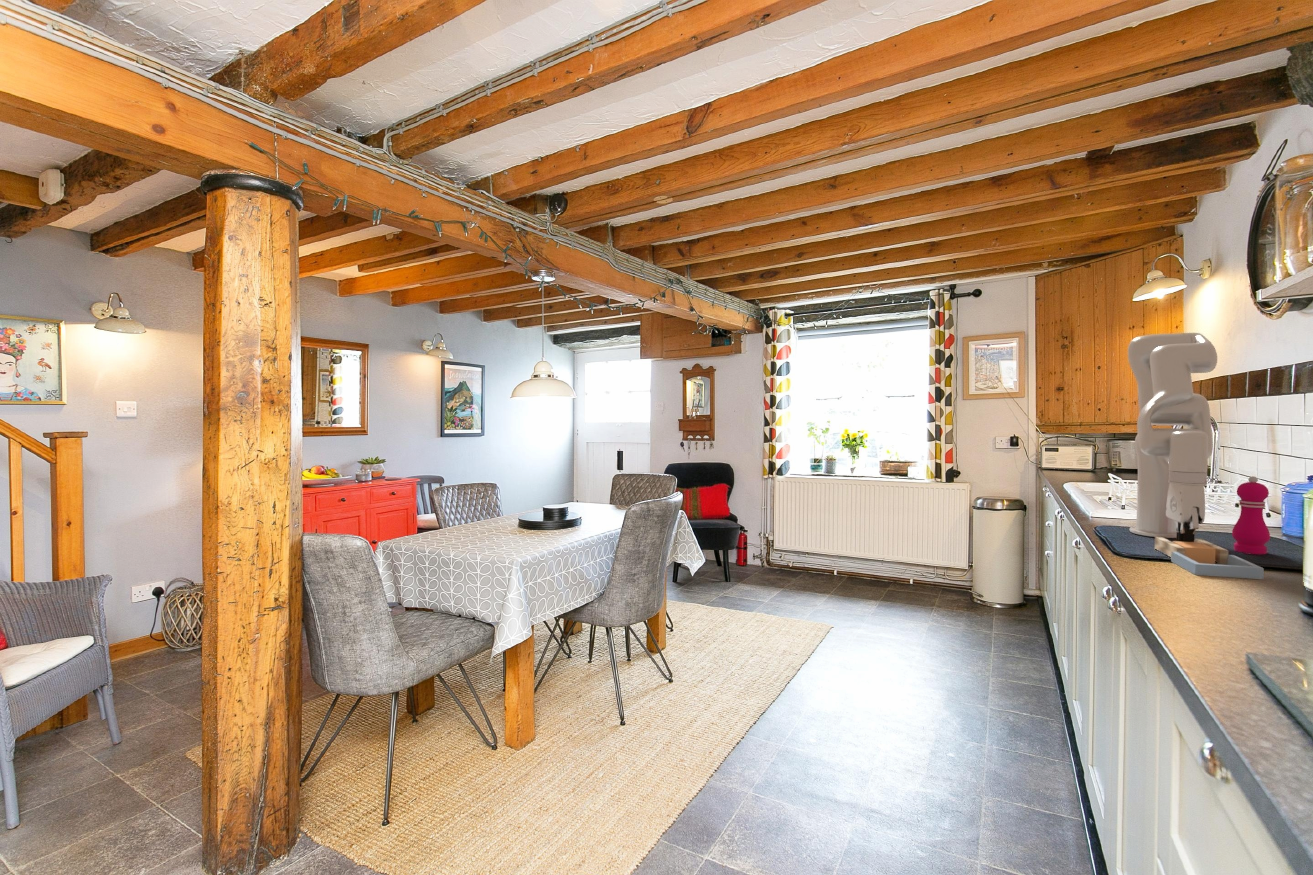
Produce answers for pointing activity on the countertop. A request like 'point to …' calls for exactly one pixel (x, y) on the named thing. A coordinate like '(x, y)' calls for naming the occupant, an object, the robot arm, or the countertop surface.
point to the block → (1198, 551)
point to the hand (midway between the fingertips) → (1184, 547)
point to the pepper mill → (1251, 519)
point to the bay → (1220, 567)
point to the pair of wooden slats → (1170, 547)
